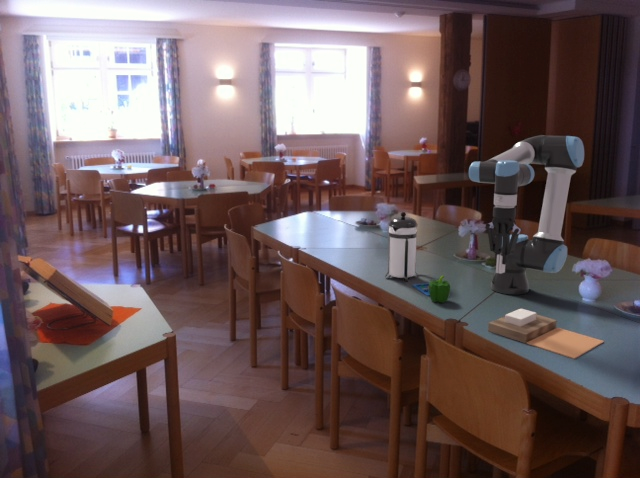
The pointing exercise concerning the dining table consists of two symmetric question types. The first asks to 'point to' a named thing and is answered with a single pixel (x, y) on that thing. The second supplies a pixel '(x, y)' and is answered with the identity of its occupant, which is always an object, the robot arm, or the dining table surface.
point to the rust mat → (565, 342)
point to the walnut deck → (523, 328)
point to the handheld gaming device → (423, 288)
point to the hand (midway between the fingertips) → (500, 272)
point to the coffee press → (402, 247)
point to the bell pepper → (439, 290)
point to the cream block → (520, 317)
